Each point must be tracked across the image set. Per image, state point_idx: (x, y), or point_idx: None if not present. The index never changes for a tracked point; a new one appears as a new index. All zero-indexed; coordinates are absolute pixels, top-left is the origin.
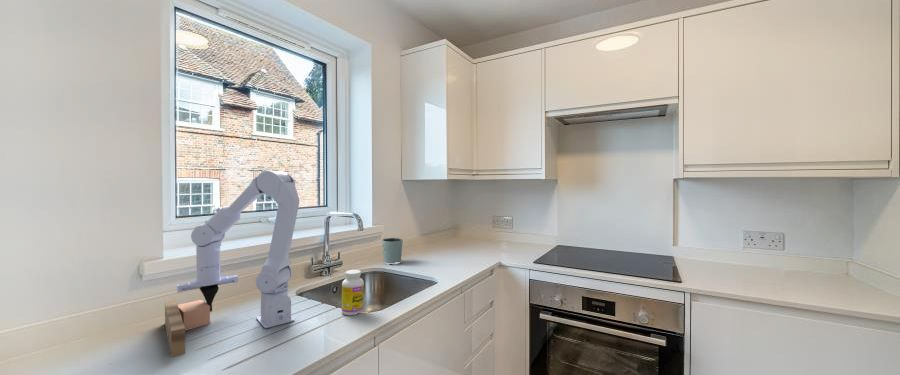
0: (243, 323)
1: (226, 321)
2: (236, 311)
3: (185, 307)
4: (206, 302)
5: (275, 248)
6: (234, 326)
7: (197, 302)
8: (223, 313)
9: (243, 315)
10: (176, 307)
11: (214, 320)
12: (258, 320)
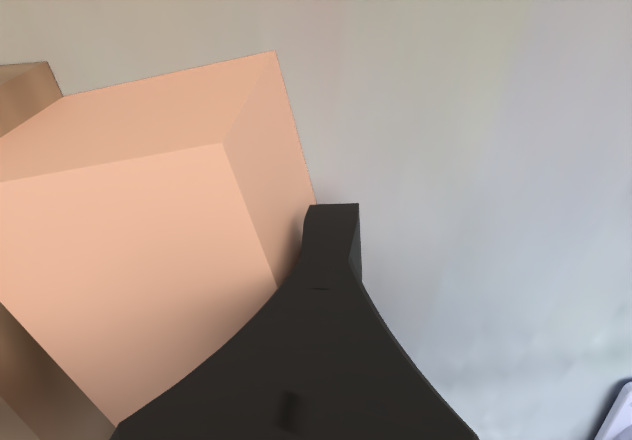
0: (521, 390)
1: (447, 311)
2: (618, 135)
3: (85, 340)
4: (301, 255)
5: None
6: (461, 397)
7: (181, 251)
8: (488, 113)
9: (601, 275)
10: (10, 423)
11: (375, 246)
12: (604, 427)
